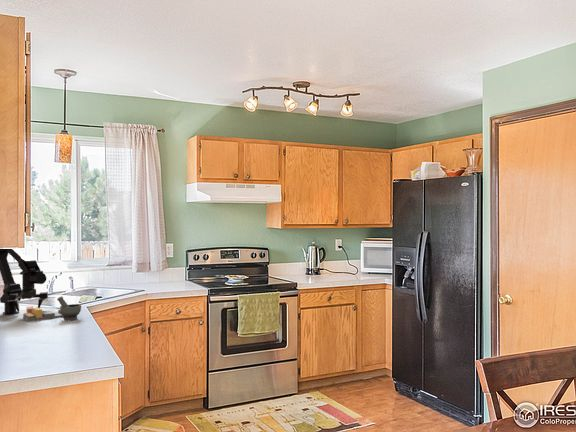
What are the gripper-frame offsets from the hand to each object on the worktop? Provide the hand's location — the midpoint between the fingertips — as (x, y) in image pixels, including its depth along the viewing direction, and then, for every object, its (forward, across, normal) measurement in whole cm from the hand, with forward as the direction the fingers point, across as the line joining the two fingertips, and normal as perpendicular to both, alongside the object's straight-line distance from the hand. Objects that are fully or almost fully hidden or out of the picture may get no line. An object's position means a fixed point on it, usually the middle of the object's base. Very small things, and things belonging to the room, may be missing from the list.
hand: (28, 312), depth 270 cm
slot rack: (+2, +10, -9) cm, 14 cm away
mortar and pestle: (+2, +21, -20) cm, 29 cm away
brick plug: (+2, +1, +1) cm, 2 cm away
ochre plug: (0, +5, -11) cm, 12 cm away
